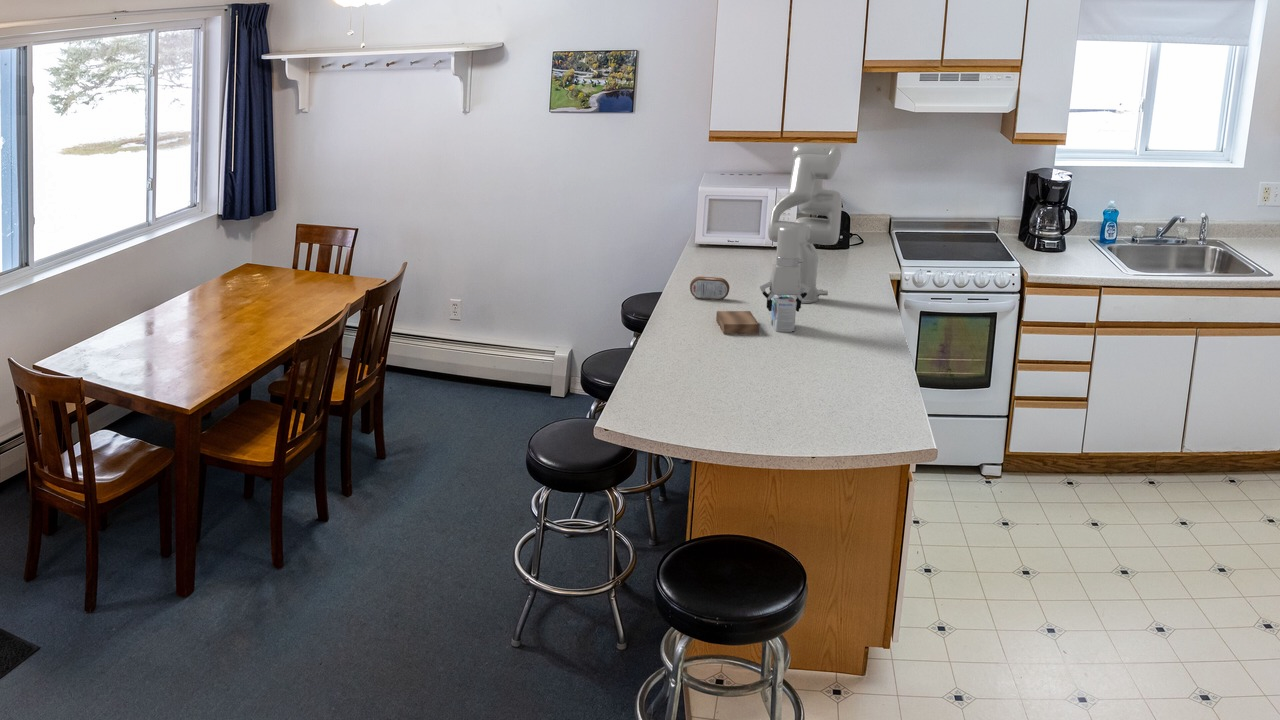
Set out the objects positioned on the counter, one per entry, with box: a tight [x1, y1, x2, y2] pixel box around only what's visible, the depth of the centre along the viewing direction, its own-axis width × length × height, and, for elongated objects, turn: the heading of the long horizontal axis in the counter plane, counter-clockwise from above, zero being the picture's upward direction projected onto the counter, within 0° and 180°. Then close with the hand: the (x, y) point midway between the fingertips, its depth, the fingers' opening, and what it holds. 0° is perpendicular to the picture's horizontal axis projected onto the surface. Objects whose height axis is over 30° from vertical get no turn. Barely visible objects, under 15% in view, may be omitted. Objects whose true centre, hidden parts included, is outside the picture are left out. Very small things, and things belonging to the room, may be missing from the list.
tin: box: [689, 276, 730, 301], centre depth 393 cm, size 15×3×8 cm, turn 84°
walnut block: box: [715, 310, 760, 335], centre depth 359 cm, size 12×16×4 cm
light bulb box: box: [769, 295, 797, 333], centre depth 359 cm, size 11×7×11 cm, turn 5°
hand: (783, 310), depth 358 cm, fingers open, 9 cm apart
